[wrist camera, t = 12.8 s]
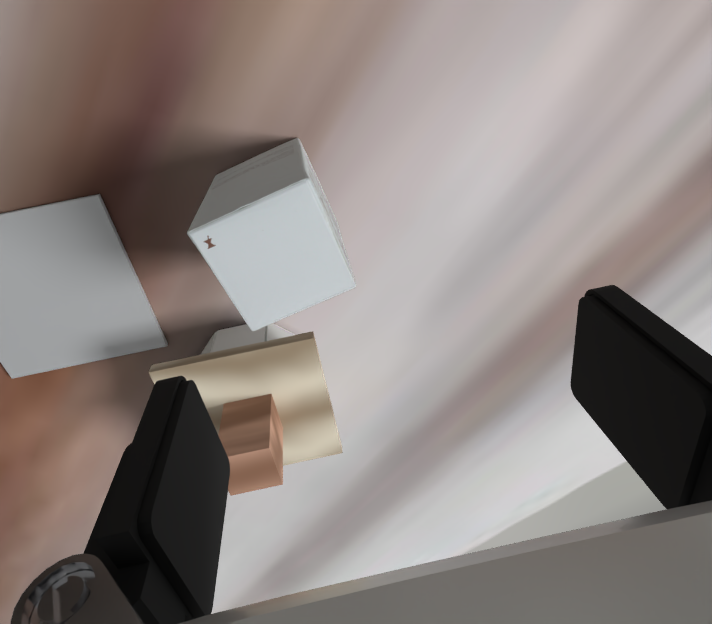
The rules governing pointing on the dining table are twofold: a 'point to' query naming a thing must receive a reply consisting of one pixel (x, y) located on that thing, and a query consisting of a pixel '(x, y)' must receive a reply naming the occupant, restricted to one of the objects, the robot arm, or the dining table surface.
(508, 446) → the dining table surface
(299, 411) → the lid
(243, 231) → the supplement box
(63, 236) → the mat
